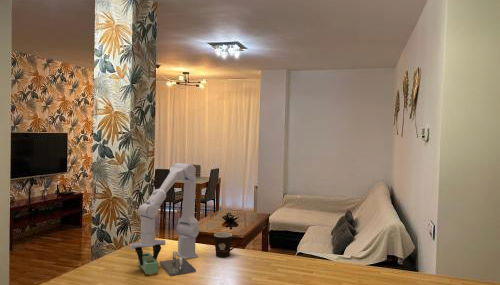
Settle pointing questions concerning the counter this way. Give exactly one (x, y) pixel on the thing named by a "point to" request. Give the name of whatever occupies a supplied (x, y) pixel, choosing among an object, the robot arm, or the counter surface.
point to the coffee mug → (223, 244)
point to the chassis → (177, 266)
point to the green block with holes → (149, 263)
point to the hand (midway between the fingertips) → (147, 263)
